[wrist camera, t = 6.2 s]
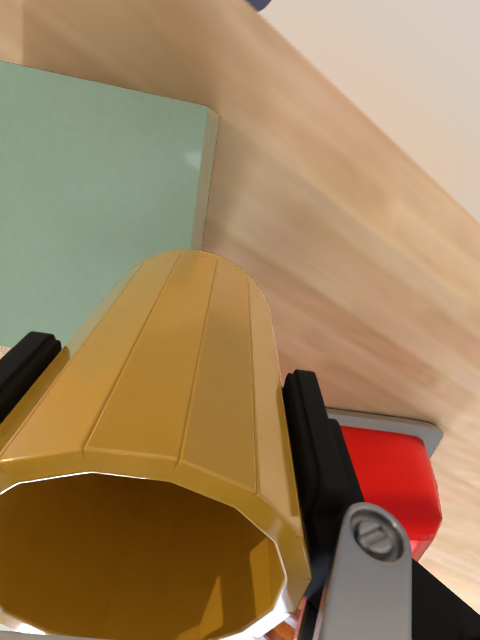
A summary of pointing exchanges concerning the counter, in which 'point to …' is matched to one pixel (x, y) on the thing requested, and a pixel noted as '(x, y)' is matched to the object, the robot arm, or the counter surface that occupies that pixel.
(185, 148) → the shelf
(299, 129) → the counter surface
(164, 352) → the cup
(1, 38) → the counter surface
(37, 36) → the counter surface
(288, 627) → the toaster
